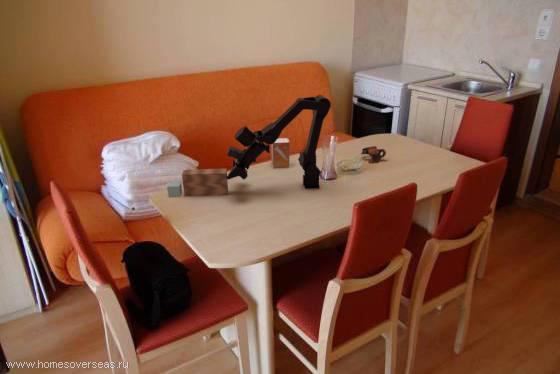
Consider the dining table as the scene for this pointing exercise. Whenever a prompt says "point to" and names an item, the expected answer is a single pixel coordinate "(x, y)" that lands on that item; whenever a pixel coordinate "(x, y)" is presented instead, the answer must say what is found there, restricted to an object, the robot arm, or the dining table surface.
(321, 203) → the dining table surface
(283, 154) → the small box
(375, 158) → the pottery mug
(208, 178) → the brown patterned block
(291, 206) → the dining table surface
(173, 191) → the teal cube
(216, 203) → the dining table surface
